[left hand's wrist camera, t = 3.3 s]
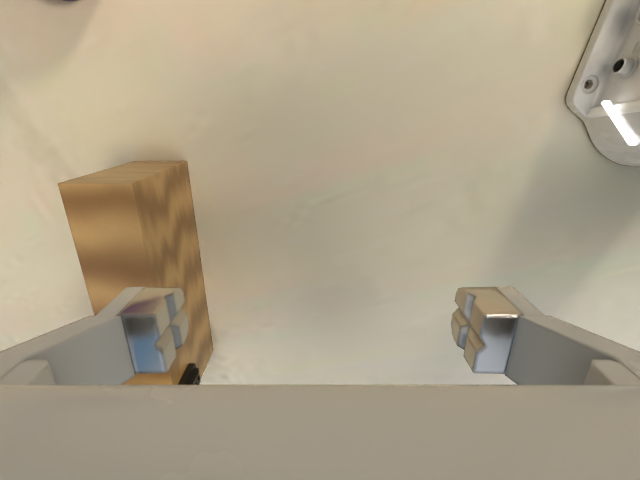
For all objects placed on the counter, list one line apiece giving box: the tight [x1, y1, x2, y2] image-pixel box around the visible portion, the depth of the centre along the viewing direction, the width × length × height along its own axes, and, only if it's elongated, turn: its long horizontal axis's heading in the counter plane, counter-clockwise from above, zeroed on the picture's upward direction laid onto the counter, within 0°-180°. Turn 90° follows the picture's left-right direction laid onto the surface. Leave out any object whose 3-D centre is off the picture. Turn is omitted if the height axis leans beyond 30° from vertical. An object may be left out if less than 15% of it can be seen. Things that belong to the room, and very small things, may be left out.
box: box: [58, 161, 213, 385], centre depth 37 cm, size 26×6×12 cm, turn 0°
